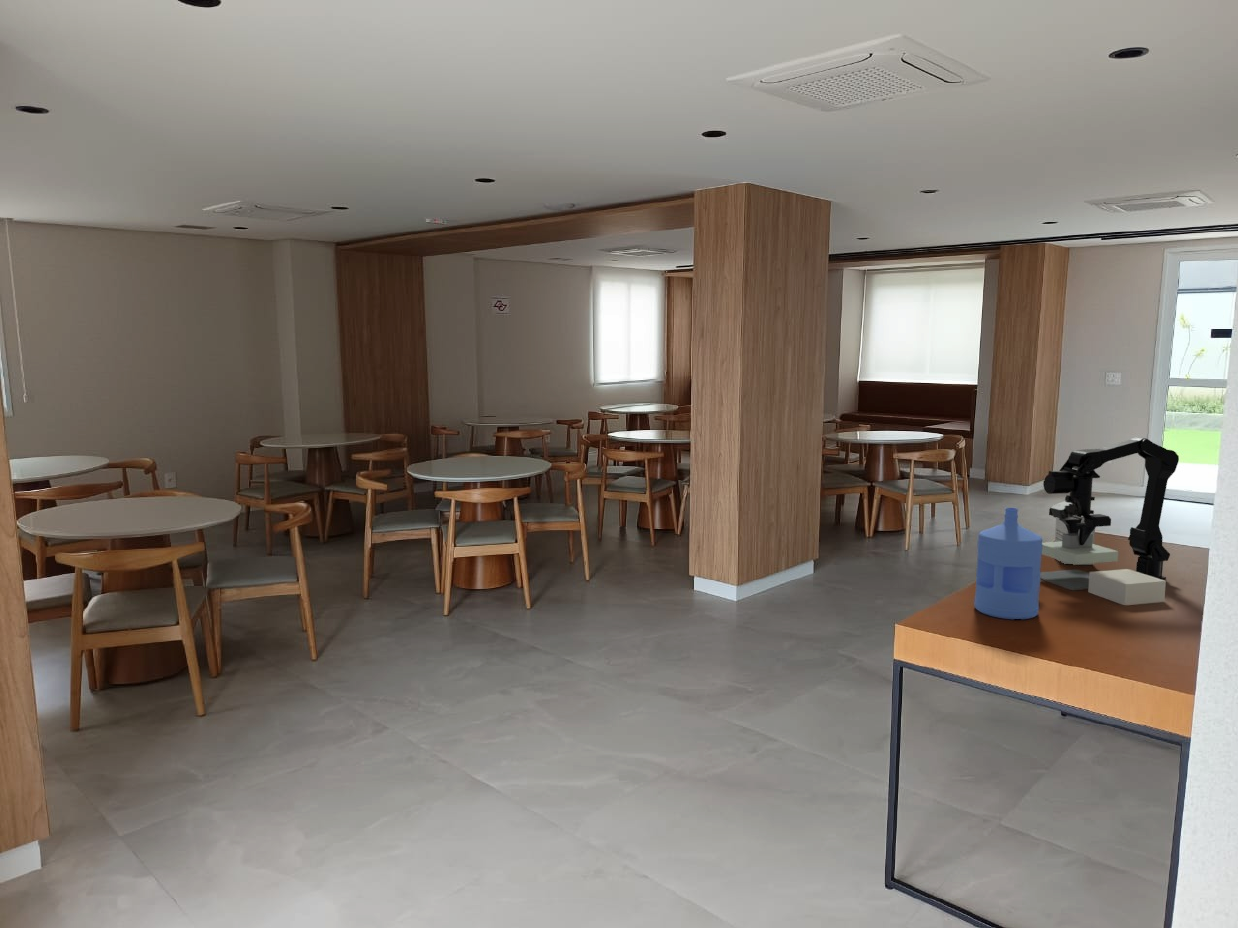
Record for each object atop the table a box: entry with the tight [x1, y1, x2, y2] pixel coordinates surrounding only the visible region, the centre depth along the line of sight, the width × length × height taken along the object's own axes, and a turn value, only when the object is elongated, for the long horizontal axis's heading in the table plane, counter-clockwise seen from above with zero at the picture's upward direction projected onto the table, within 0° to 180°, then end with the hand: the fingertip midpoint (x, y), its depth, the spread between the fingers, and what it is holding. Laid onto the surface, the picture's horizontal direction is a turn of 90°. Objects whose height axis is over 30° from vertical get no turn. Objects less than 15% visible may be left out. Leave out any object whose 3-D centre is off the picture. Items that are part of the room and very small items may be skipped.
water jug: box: [973, 507, 1043, 620], centre depth 221 cm, size 16×16×28 cm
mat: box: [1040, 569, 1090, 591], centre depth 252 cm, size 18×18×1 cm
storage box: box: [1087, 568, 1167, 606], centre depth 234 cm, size 13×13×6 cm
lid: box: [1041, 533, 1119, 566], centre depth 251 cm, size 15×15×7 cm
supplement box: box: [1054, 516, 1096, 566], centre depth 273 cm, size 9×9×15 cm
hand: (1077, 543), depth 250 cm, fingers closed on lid, 3 cm apart
